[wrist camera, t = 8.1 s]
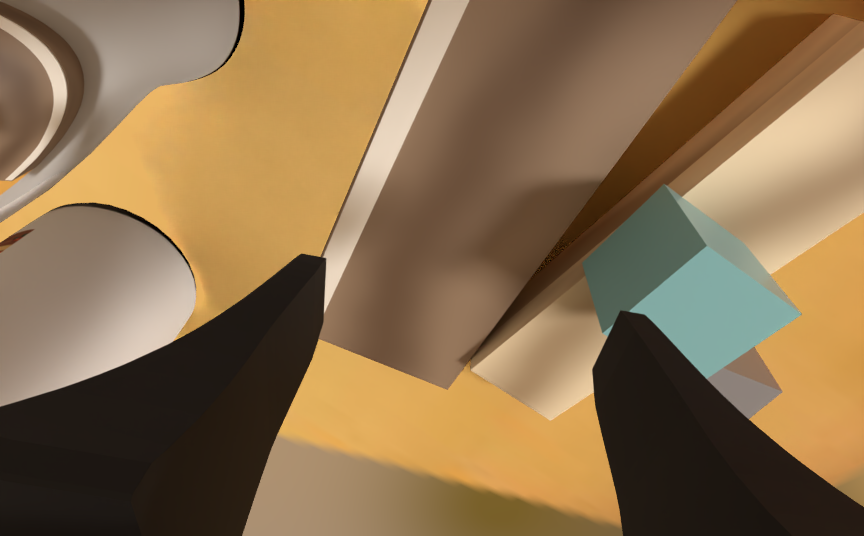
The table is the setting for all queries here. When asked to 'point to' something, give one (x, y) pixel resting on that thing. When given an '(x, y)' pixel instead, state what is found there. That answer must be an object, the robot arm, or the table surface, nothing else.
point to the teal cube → (687, 282)
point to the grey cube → (746, 383)
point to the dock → (491, 163)
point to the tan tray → (707, 208)
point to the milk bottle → (86, 297)
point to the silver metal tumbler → (93, 75)
